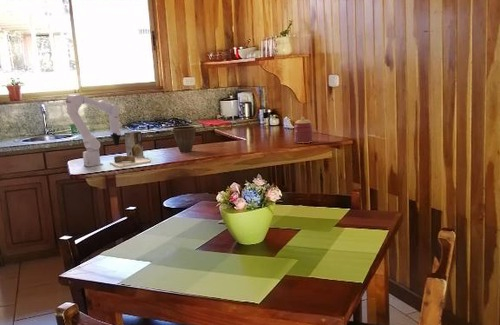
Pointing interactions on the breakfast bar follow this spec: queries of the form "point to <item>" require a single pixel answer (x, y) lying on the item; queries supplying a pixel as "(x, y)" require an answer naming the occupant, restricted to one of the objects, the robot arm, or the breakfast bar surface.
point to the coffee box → (134, 144)
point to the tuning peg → (124, 158)
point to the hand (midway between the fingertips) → (116, 145)
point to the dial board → (136, 162)
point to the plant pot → (184, 137)
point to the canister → (303, 130)
